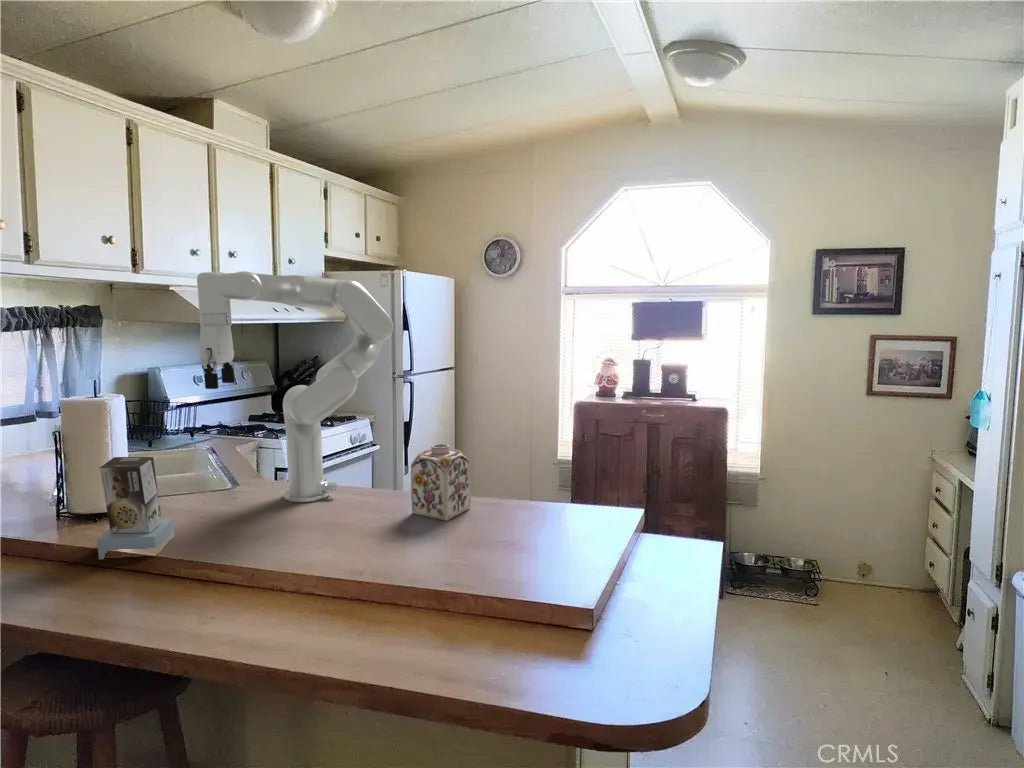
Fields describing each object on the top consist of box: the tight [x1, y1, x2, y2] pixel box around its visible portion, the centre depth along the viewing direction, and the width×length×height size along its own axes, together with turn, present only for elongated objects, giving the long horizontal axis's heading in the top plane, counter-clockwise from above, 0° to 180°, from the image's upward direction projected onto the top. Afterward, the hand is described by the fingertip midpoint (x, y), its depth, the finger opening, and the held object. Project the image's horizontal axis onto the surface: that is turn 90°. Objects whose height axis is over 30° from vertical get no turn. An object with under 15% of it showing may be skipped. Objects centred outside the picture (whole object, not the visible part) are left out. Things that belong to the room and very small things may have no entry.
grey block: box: [96, 517, 176, 560], centre depth 158 cm, size 12×12×5 cm
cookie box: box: [99, 456, 163, 533], centre depth 156 cm, size 9×6×16 cm
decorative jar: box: [410, 443, 472, 522], centre depth 181 cm, size 12×12×18 cm
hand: (220, 385), depth 181 cm, fingers open, 9 cm apart
